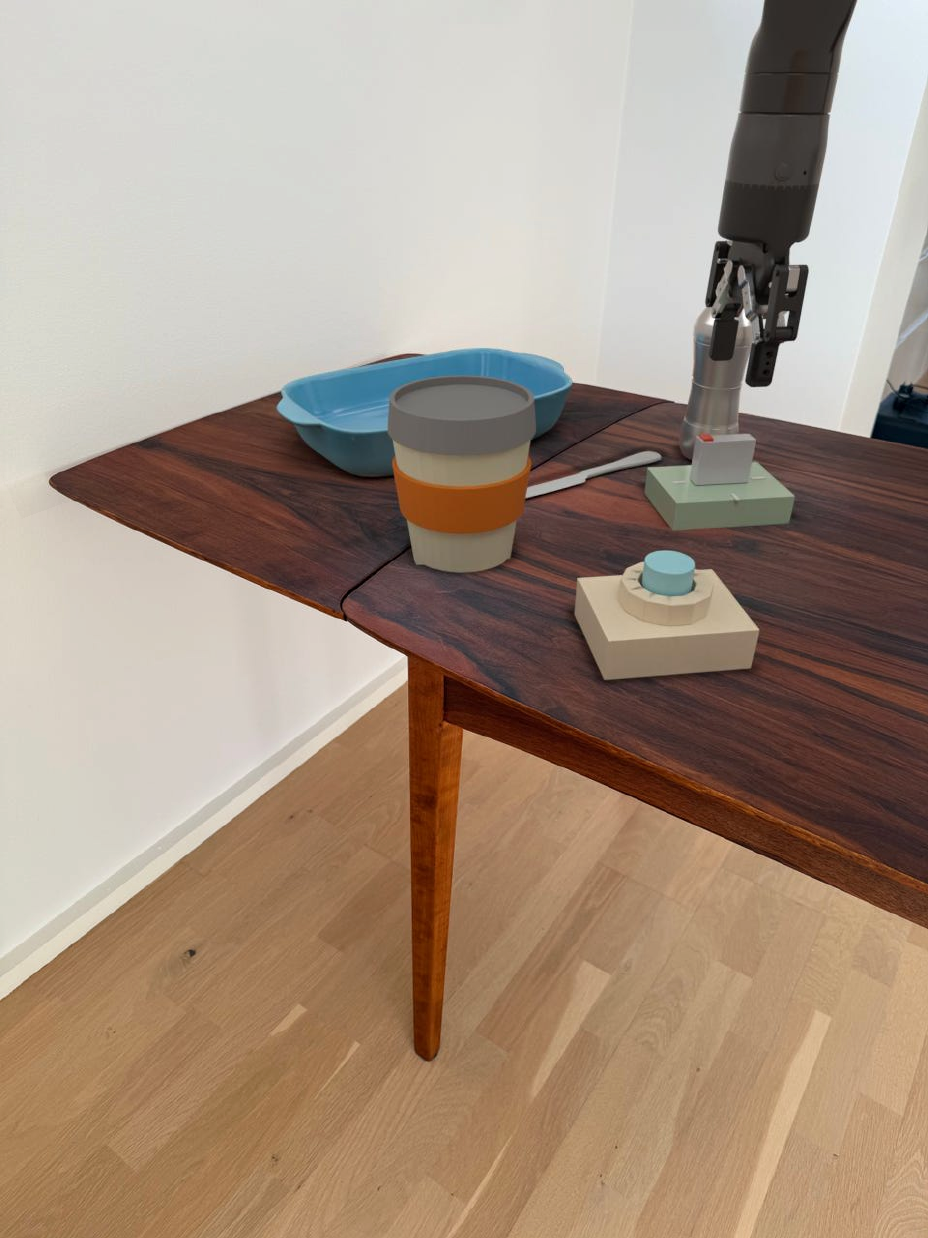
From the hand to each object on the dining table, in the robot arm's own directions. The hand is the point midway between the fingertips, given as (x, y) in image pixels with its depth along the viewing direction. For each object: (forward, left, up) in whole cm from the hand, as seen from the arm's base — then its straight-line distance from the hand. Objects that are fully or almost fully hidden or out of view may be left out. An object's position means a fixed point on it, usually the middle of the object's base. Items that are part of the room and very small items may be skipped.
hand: (737, 372), depth 79 cm
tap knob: (0, -1, -11) cm, 11 cm away
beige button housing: (+14, +23, -14) cm, 31 cm away
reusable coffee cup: (+27, +6, -14) cm, 31 cm away
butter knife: (+12, -10, -14) cm, 21 cm away
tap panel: (0, -1, -14) cm, 14 cm away
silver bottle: (-4, -14, -14) cm, 20 cm away
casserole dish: (+27, -25, -14) cm, 39 cm away
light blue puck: (+14, +23, -9) cm, 28 cm away
